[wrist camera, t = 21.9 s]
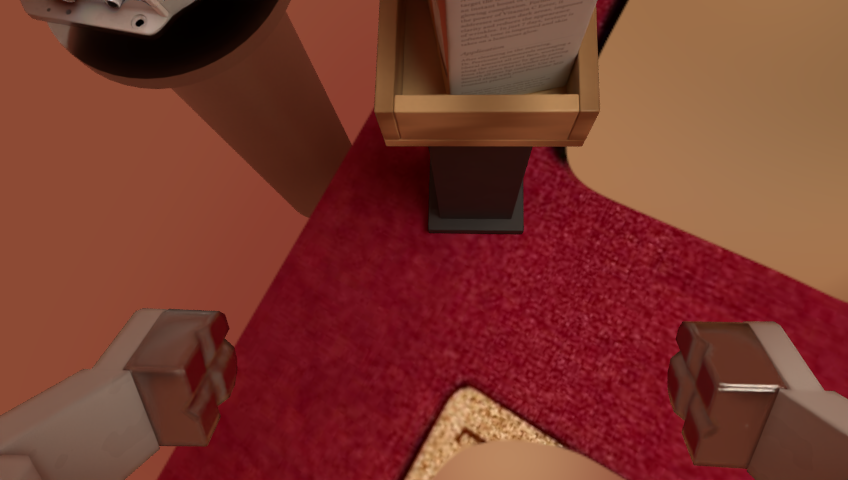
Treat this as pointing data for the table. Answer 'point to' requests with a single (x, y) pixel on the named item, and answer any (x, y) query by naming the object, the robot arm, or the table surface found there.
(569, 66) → the small box
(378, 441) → the table surface
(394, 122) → the beige open tray
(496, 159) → the stand
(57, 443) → the robot arm
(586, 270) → the table surface
